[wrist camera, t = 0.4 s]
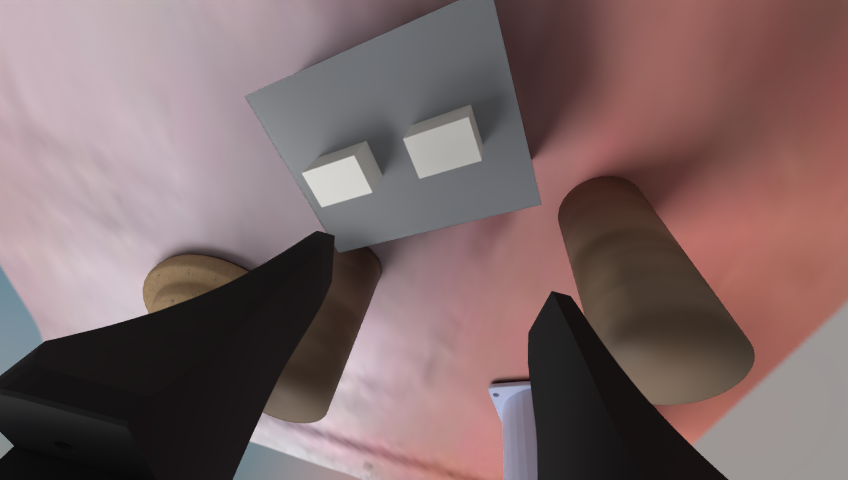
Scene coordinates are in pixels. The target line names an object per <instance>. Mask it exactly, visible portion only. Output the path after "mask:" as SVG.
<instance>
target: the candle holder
mask: <svg viewBox="0 0 848 480" xmlns="http://www.w3.org/2000/svg"><path fill="white" fill-rule="evenodd" d="M246 273H248V271H247V270H245V269H243V268H241V267H239V266H237V265H235V264H232V263H230V262H228V261H224V260H221V259H218V258H215V257H210V256H205V255H193V254H189V255H179V256H175V257H172V258H169V259H167V260H165V261H163V262H161V263H159V264H158V265H157V266H156V267H154V268H153V269H152V270H151V271H150V272H149V274H148V276H147V277H146V279H145V281H144V285H143V299H144V302H145V306H146V308H147V310H148V312H149V314H150V313H153V312H156V311H159V310H162V309H165V308H167V307H170V306H173V305H176V304H178V303H181V302H184V301H186V300H189V299H192V298H194V297H197V296H199V295H202V294H204V293H207V292H209V291H211V290H213V289H216V288H218V287H220V286H222V285H225V284H227V283H229V282H231V281H233V280H235V279H237V278H239V277H241V276H242V275H244V274H246Z"/></svg>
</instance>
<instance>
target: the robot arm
mask: <svg viewBox="0 0 848 480" xmlns="http://www.w3.org/2000/svg"><path fill="white" fill-rule="evenodd" d="M334 242H335V235H331V234H327V233H323V232H319V231H316V232H314V233H312V234H311V235H309V236H308V237H306V238H304V239H303V240H301V241H300V242H298V243H297V244H295V245H294V246H292V247H290V248H289V249H287V250H286V251H284V252H282V253H281V254H279V255H278V256H276V257H274V258H273V259H271V260H269V261H268V262H266V263H264V264H262V265H261V266H259V267H257V268H255V269H253V270H252V271H250V272H248V273H246V274H244V275H242V276H241V277H239V278H237V279H235V280H233V281H231V282H229V283H227V284H225V285H222V286H220V287H218V288H216V289H213V290H211V291H209V292H207V293H204V294H202V295H199V296H197V297H194V298H192V299H189V300H186V301H184V302H181V303H178V304H176V305H173V306H170V307H167V308H165V309H162V310H159V311H156V312H153V313H150V314H147V315H144V316H141V317H137V318H134V319H131V320H127V321H124V322H120V323H117V324H113V325H110V326H106V327H102V328H98V329H94V330H90V331H86V332H82V333H78V334H74V335H70V336H66V337H62V338H57V339H53V340H48V341H45V342H44V343H42V344H41V345H39V346H38V347H37V348H35V349H34V350H33V351H32V352H30V353H29V354H28V355H26V356H25V357H24V358H23V359H21V360H20V361H19V362H17V363H16V364H15V365H14V366H12V367H11V368H10V369H9V370H7V371H6V372H5V373H3V374H2V375H1V376H0V432H1V433H2V434H3V435H4V436H5V437H6V438H7V439H8V440H9V441H10V442H11V443H12V444H13V445H14V447H13V448H12V449H11V450H9V451H8V452H7V453H6V455H4V456H3V457H2V458H1V459H0V480H233V477H234V475H235V473H236V470H237V468H238V465H239V463H240V461H241V459H242V456H243V454H244V452H245V450H246V447H247V445H248V443H249V441H250V438H251V436H252V434H253V432H254V429H255V427H256V425H257V423H258V421H259V419H260V416H261V414H262V412H263V410H264V408H265V406H266V403H267V401H268V399H269V397H270V395H271V393H272V391H273V389H274V387H275V385H276V383H277V381H278V378H279V376H280V375H281V373H282V371H283V369H284V367H285V366H286V364H287V362H288V360H289V359H290V357H291V355H292V354H293V352H294V351H295V349H296V347H297V346H298V344H299V342H300V341H301V339H302V337H303V336H304V334H305V333H306V331H307V329H308V328H309V326H310V324H311V323H312V321H313V319H314V318H315V316H316V314H317V313H318V311H319V309H320V308H321V305H322V303H323V301H324V299H325V297H326V294H327V292H328V290H329V287H330V285H331V283H332V274H333V258H334ZM528 366H529V376H530V381H523V382H510V383H497V384H491V385H489V393H490V396H491V398H492V400H493V403H494V405H495V407H496V410H497V412H498V415H499V417H500V419H501V422H502V424H503V466H504V480H728V479H727V478H726V477H725V476H724V475H723V474H721V473H720V472H719V471H718V470H717V469H716V468H715V467H714V466H713V465H711V464H710V463H709V462H708V461H707V460H706V459H705V458H704V457H703V456H702V455H701V454H700V453H699V452H698V451H696V449H694V447H693V446H691V445H690V444H689V443H688V442H687V441H686V440H685V439H684V438H683V437H682V436H681V435H680V434H679V433H678V432H677V431H676V430H675V429H674V428H673V427H672V426H671V425H670V423H669V422H668V421H667V420H666V419H665V418H664V417H663V416H662V415H661V414H660V413H659V412H658V411H657V409H656V408H655V407H654V406H653V405H652V404H651V403H650V402H649V401H648V399H647V398H646V397H645V396H644V395H643V394H642V393H641V391H640V390H639V389H638V388H637V387H636V385H635V384H634V383H633V382H632V380H631V379H630V378H629V377H628V375H627V374H626V373H625V372H624V370H623V369H622V368H621V367H620V365H619V364H618V363H617V361H616V360H615V359H614V357H613V356H612V355H611V353H610V352H609V351H608V349H607V348H606V346H605V345H604V344H603V342H602V341H601V339H600V338H599V337H598V335H597V334H596V332H595V331H594V329H593V328H592V326H591V325H590V323H589V322H588V321H587V319H586V318H585V316H584V315H583V313H582V312H581V310H580V309H579V307H578V306H577V304H576V303H575V302H574V300H573V299H572V298H571V296H569V295H565V294H561V293H557V292H553V291H552V292H551V293H550V295H549V297H548V299H547V300H546V302H545V304H544V306H543V308H542V309H541V311H540V313H539V315H538V317H537V318H536V320H535V322H534V324H533V326H532V327H531V329H530V331H529V335H528Z"/></svg>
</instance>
